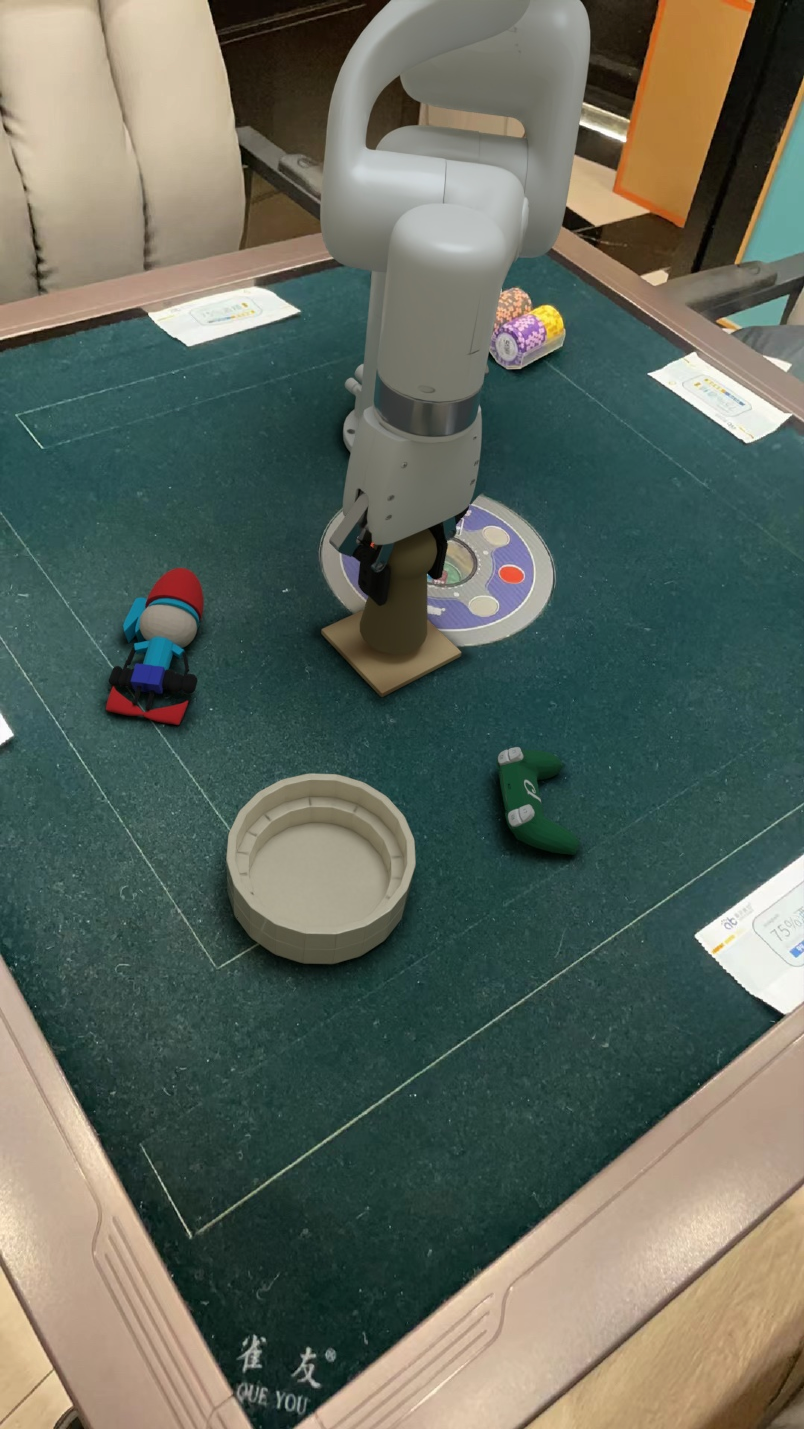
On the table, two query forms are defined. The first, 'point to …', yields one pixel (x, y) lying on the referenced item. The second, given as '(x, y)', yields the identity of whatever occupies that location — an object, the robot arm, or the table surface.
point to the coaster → (389, 655)
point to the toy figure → (160, 645)
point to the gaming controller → (531, 799)
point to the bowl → (319, 868)
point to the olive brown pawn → (402, 598)
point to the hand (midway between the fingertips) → (400, 580)
